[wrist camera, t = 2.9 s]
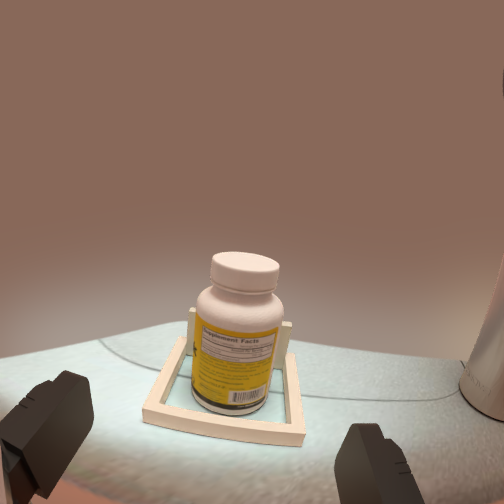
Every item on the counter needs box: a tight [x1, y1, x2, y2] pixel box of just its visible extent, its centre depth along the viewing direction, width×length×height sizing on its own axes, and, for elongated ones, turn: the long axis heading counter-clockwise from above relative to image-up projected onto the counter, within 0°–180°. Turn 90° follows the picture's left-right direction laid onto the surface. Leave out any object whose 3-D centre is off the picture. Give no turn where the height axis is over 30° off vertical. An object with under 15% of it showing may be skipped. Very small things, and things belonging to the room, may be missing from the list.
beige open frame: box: [142, 307, 306, 447], centre depth 21 cm, size 10×10×4 cm
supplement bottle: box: [191, 252, 284, 415], centre depth 20 cm, size 5×5×10 cm
